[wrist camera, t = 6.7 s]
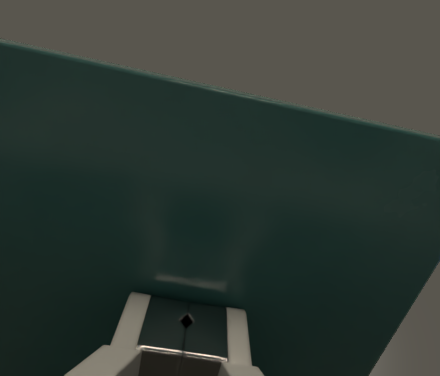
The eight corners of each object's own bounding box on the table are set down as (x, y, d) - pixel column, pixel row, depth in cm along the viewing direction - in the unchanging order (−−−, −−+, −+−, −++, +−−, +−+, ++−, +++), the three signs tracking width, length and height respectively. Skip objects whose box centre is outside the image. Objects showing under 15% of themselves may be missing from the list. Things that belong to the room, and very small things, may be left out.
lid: (-61, 24, 6) (-88, 22, 5) (485, 145, 7) (508, 154, 6) (0, 438, 12) (-11, 457, 11) (293, 473, 13) (296, 492, 12)
